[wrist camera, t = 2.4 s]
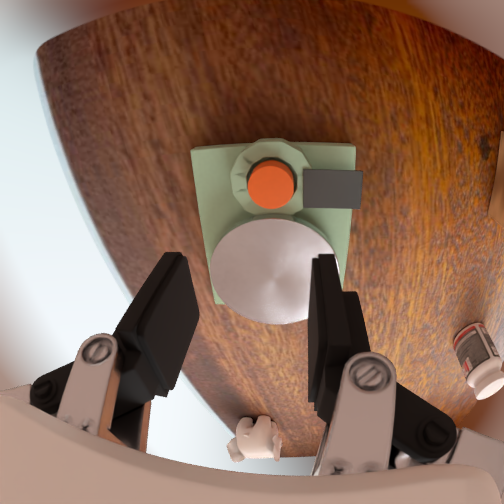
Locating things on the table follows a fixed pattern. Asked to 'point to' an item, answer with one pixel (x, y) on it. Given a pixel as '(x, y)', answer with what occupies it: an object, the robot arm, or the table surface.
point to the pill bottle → (479, 360)
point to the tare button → (271, 184)
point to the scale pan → (280, 252)
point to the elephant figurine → (255, 440)
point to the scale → (240, 203)
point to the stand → (498, 188)
